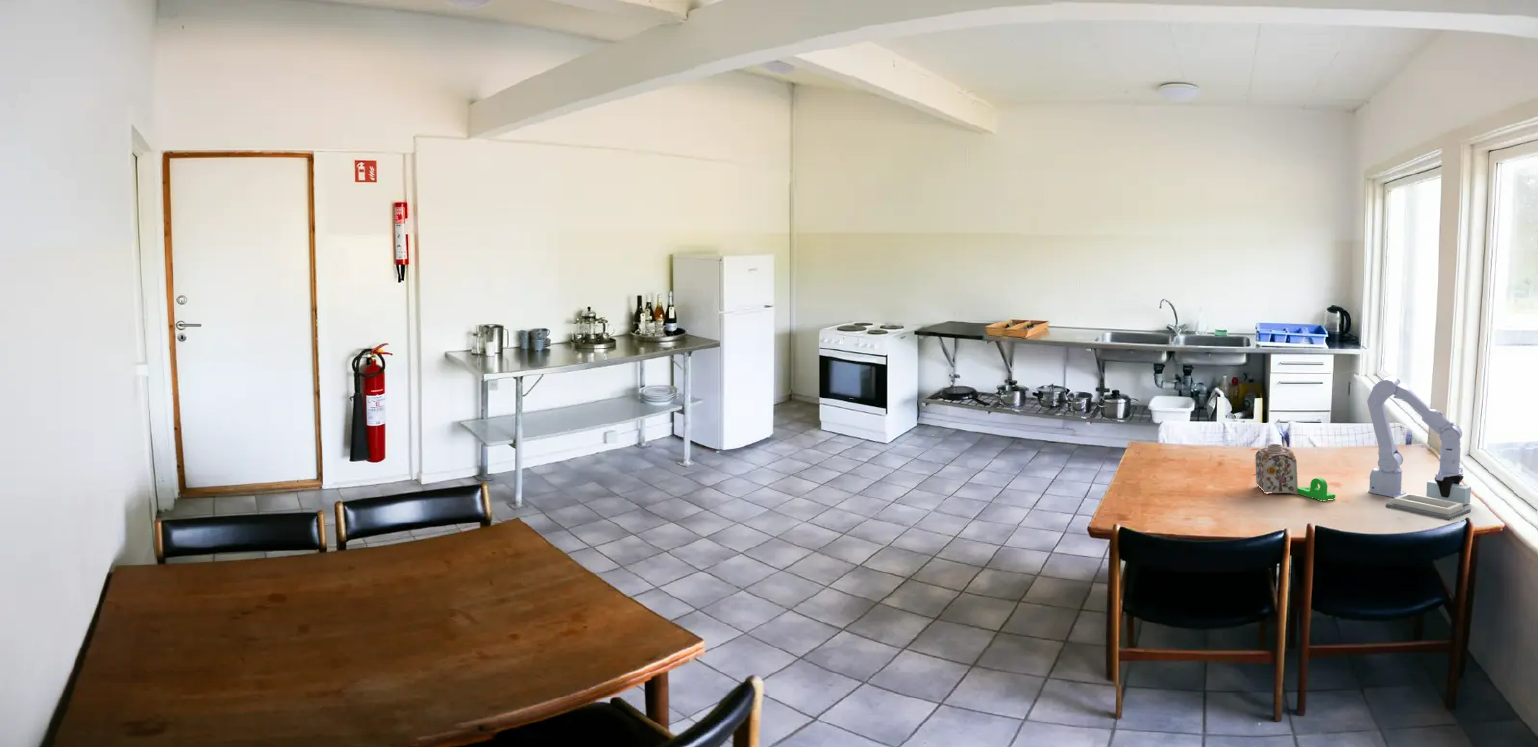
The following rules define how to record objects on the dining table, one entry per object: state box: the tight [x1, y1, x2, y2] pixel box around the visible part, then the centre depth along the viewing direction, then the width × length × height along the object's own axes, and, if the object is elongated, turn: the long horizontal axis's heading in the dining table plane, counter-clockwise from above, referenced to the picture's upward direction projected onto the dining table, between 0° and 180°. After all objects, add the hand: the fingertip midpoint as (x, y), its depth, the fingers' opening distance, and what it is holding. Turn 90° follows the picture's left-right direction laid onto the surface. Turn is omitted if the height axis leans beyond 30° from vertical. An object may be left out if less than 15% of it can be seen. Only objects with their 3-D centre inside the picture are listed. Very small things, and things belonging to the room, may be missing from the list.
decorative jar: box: [1255, 443, 1299, 494], centre depth 345 cm, size 12×12×18 cm
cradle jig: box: [1385, 492, 1472, 520], centre depth 314 cm, size 20×14×3 cm
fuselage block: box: [1425, 479, 1472, 506], centre depth 320 cm, size 12×4×6 cm, turn 29°
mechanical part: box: [1297, 477, 1336, 502], centre depth 335 cm, size 12×6×8 cm, turn 15°
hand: (1448, 495), depth 321 cm, fingers closed on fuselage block, 4 cm apart
